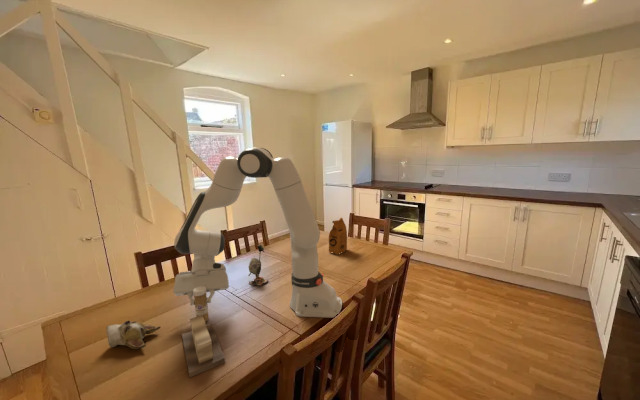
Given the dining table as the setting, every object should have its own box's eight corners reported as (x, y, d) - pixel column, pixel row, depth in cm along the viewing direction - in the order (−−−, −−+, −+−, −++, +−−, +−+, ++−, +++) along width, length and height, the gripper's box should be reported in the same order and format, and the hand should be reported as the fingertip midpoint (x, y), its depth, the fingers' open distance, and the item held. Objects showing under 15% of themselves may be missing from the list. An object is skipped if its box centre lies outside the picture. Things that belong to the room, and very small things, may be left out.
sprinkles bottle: (196, 325, 97) (192, 292, 95) (196, 318, 102) (193, 287, 99) (209, 321, 99) (206, 289, 97) (209, 315, 103) (205, 284, 101)
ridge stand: (182, 338, 91) (179, 319, 89) (212, 327, 96) (210, 309, 95) (189, 377, 74) (186, 355, 73) (225, 361, 79) (223, 340, 78)
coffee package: (326, 252, 168) (325, 220, 164) (337, 247, 177) (336, 216, 174) (338, 255, 162) (338, 222, 158) (349, 250, 171) (349, 218, 167)
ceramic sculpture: (117, 312, 92) (160, 311, 93) (119, 333, 94) (162, 332, 95) (93, 332, 82) (143, 331, 83) (97, 355, 83) (145, 354, 84)
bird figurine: (257, 275, 137) (255, 240, 133) (270, 282, 129) (268, 245, 126) (244, 281, 131) (241, 244, 128) (256, 288, 123) (253, 249, 120)
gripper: (173, 269, 101) (168, 305, 94) (227, 263, 106) (226, 297, 98) (178, 275, 106) (173, 310, 99) (229, 269, 111) (229, 301, 103)
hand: (200, 303), depth 99 cm, fingers closed on sprinkles bottle, 4 cm apart
